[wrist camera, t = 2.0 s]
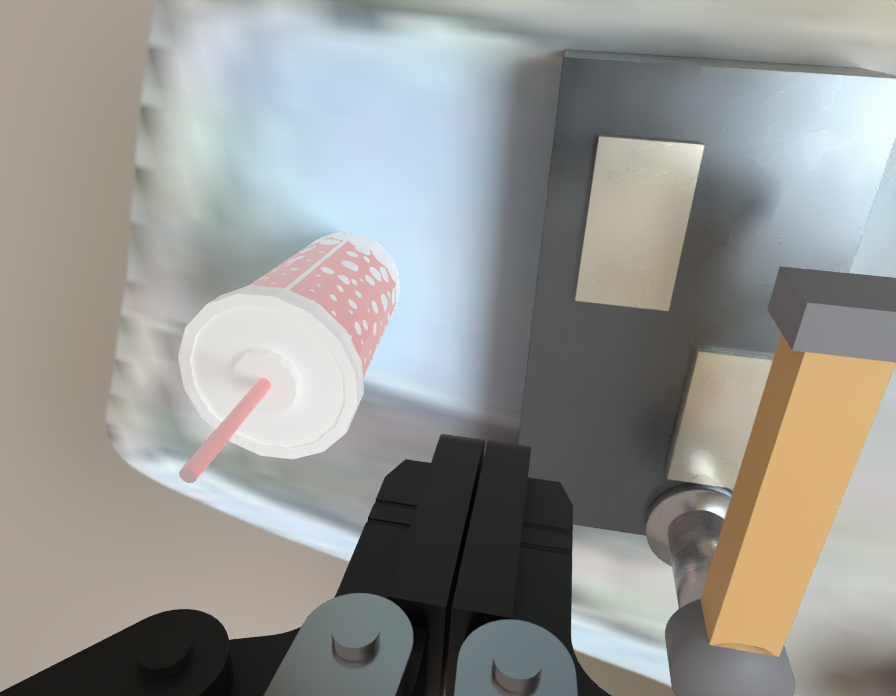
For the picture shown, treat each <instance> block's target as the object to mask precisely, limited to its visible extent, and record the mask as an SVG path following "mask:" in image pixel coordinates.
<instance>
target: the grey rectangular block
mask: <svg viewBox="0 0 896 696" xmlns="http://www.w3.org/2000/svg"><path fill="white" fill-rule="evenodd" d="M895 137H896V76H895V75H890V74H886V73H881V72H877V71H872V70H868V69H862V68H846V67H830V66H815V65H799V64H784V63H768V62H753V61H737V60H721V59H706V58H690V57H675V56H659V55H643V54H628V53H612V52H597V51H581V50H566V51H565V54H564V57H563V64H562V73H561V82H560V90H559V99H558V107H557V116H556V124H555V133H554V141H553V150H552V158H551V167H550V176H549V184H548V193H547V201H546V210H545V218H544V227H543V235H542V244H541V252H540V261H539V270H538V278H537V287H536V295H535V304H534V312H533V321H532V329H531V338H530V346H529V355H528V363H527V372H526V381H525V389H524V398H523V406H522V415H521V423H520V432H519V440H518V445H524V446H531V454H530V463H529V472H528V477H529V478H536V479H543V480H549V481H556V482H560V483H561V484H562V486H563V488H564V490H565V492H566V493H567V495H568V497H569V499H570V501H571V502H572V504H573V524H575V525H581V526H588V527H594V528H601V529H607V530H613V531H620V532H626V533H633V534H639V535H646V536H647V541H648V544H649V546H650V548H651V550H652V551H653V552H654V554H655V555H656V556H657V557H658V558H659V559H661V560H662V561H663V562H665V563H666V564H668V565H670V566H672V568H673V574H674V580H675V587H676V593H677V599H678V605H679V609H680V608H681V607H683V606H684V605H686V604H688V603H690V602H693V601H696V600H699V599H700V598H701V595H702V592H703V588H704V585H705V582H706V579H707V575H708V572H709V569H710V565H711V562H712V559H713V556H714V552H715V549H716V546H717V542H718V539H719V536H720V533H721V529H722V526H723V523H724V519H725V516H726V513H727V509H728V506H729V503H730V500H731V496H732V493H733V490H734V486H735V483H736V480H737V477H738V473H739V470H740V467H741V463H742V460H743V457H744V454H745V450H746V447H747V444H748V440H749V437H750V434H751V431H752V427H753V424H754V421H755V417H756V414H757V411H758V407H759V404H760V401H761V398H762V394H763V391H764V388H765V384H766V381H767V378H768V375H769V371H770V368H771V365H772V361H773V358H774V355H775V352H776V348H777V345H778V342H779V338H780V335H781V331H780V330H779V328H778V326H777V325H776V323H775V321H774V320H773V318H772V317H771V315H770V313H769V312H768V310H767V309H768V305H769V302H770V298H771V295H772V291H773V288H774V284H775V281H776V277H777V274H778V270H779V267H780V266H782V267H792V268H802V269H812V270H821V271H831V272H841V273H849V272H850V269H851V266H852V264H853V261H854V258H855V255H856V252H857V249H858V246H859V243H860V240H861V237H862V234H863V231H864V228H865V225H866V222H867V219H868V216H869V213H870V210H871V208H872V205H873V202H874V199H875V196H876V193H877V190H878V187H879V184H880V181H881V178H882V175H883V172H884V169H885V166H886V163H887V160H888V157H889V155H890V152H891V149H892V146H893V143H894V140H895Z"/></svg>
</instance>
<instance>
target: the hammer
mask: <svg viewBox="0 0 896 696" xmlns="http://www.w3.org/2000/svg"><path fill="white" fill-rule="evenodd" d="M767 310H768V312H769V313H770V315H771V317H772V318H773V320H774V321H775V323H776V325H777V326H778V328H779V330H780V331H781V335H780V338H779V342H778V345H777V348H776V352H775V355H774V358H773V361H772V365H771V368H770V371H769V375H768V378H767V381H766V384H765V388H764V391H763V394H762V398H761V401H760V404H759V407H758V411H757V414H756V417H755V421H754V424H753V427H752V431H751V434H750V437H749V440H748V444H747V447H746V450H745V454H744V457H743V460H742V463H741V467H740V470H739V473H738V477H737V480H736V483H735V486H734V490H733V493H732V496H731V500H730V503H729V506H728V509H727V513H726V516H725V519H724V523H723V526H722V529H721V533H720V536H719V539H718V542H717V546H716V549H715V552H714V556H713V559H712V562H711V565H710V569H709V572H708V575H707V579H706V582H705V585H704V588H703V592H702V595H701V598H700V599H699V600H696V601H693V602H690V603H688V604H686V605H684V606H683V607H681V608H680V609H679V610H677V611H676V612H675V613H674V614H673V615H672V617H671V618H670V619H669V621H668V623H667V626H666V630H665V640H666V647H667V655H668V662H669V670H670V677H671V684H672V689H673V691H674V694H675V695H676V696H793V694H794V691H795V678H794V675H793V672H792V669H791V666H790V663H789V659H788V656H787V653H786V650H785V647H784V643H785V641H786V638H787V636H788V633H789V631H790V628H791V626H792V623H793V621H794V618H795V616H796V613H797V611H798V608H799V606H800V603H801V601H802V598H803V596H804V593H805V591H806V588H807V586H808V583H809V581H810V578H811V576H812V573H813V570H814V568H815V565H816V563H817V560H818V558H819V555H820V553H821V550H822V548H823V545H824V543H825V540H826V538H827V535H828V533H829V530H830V528H831V525H832V523H833V520H834V518H835V515H836V513H837V510H838V508H839V505H840V503H841V500H842V498H843V495H844V493H845V490H846V488H847V485H848V483H849V480H850V478H851V475H852V473H853V470H854V468H855V465H856V463H857V460H858V458H859V455H860V453H861V450H862V448H863V445H864V443H865V440H866V438H867V435H868V433H869V430H870V428H871V425H872V423H873V420H874V418H875V415H876V412H877V410H878V407H879V405H880V402H881V400H882V397H883V395H884V392H885V390H886V387H887V385H888V382H889V380H890V377H891V375H892V372H893V370H894V367H895V365H896V278H890V277H881V276H871V275H861V274H851V273H841V272H831V271H821V270H812V269H802V268H792V267H782V266H780V267H779V270H778V274H777V277H776V281H775V284H774V288H773V291H772V295H771V298H770V302H769V305H768V309H767Z"/></svg>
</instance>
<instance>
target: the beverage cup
mask: <svg viewBox="0 0 896 696" xmlns="http://www.w3.org/2000/svg"><path fill="white" fill-rule="evenodd" d="M399 297H400V276H399V273H398V271H397V269H396V267H395V264H394V262H393V260H392V258H391V256H390V255H389V254H388V253H387V252H386V251H385V250H384V249H383V248H382V247H381V246H380V245H379V244H378V243H377V242H375V241H373V240H371V239H369V238H366V237H364V236H362V235H360V234H358V233H347V232H335V233H332V234H330V235H327V236H324V237H321V238H319V239H317V240H316V241H314V242H313V243H311V244H310V245H308V246H307V247H305V248H304V249H302V250H301V251H299V252H298V253H296V254H295V255H293V256H292V257H290V258H289V259H287V260H286V261H284V262H283V263H281V264H280V265H278V266H277V267H275V268H274V269H272V270H271V271H269V272H268V273H266V274H265V275H263V276H262V277H260V278H259V279H257V280H256V281H254V282H253V283H251V284H250V285H248V286H245V287H242V288H240V289H237V290H234V291H231V292H228V293H226V294H223V295H220V296H218V297H217V298H216V299H215V300H213V301H210V302H209V303H208V304H206V305H205V306H204V308H203V309H202V310H201V311H200V312H199V313H198V314H197V315H196V316H195V317H194V318H193V320H192V321H191V322H190V323H189V324H188V325H187V326H186V327H185V331H184V335H183V339H182V343H181V347H180V351H179V355H178V359H179V364H180V369H181V375H182V380H183V385H184V389H185V391H186V392H187V394H188V396H189V397H190V399H191V401H192V402H193V404H194V405H195V407H196V409H197V410H198V412H199V414H200V415H201V417H202V418H203V419H204V420H205V421H206V422H207V423H209V424H210V425H211V426H212V427H213V428H214V429H215V431H214V432H213V433H212V434H211V435H210V437H209V438H208V439H207V440H206V441H205V442H204V443H203V445H202V446H201V447H200V448H199V449H198V450H197V452H196V453H195V454H194V455H193V456H192V457H191V459H190V460H189V461H188V462H187V463H186V464H185V465H184V467H183V468H182V469H181V470H180V472H179V474H180V477H181V478H182V479H183V480H184V481H185V482H187V483H193V482H195V481H196V480H197V478H198V477H199V476H200V475H201V474H202V472H203V471H204V470H205V469H206V467H207V466H208V465H209V464H210V462H211V461H212V460H213V459H214V458H215V456H216V455H217V454H218V453H219V451H220V450H221V449H222V448H223V446H224V445H225V444H226V443H227V442H228V441H230V442H232V443H234V444H236V445H239V446H241V447H243V448H245V449H247V450H250V451H252V452H254V453H256V454H258V455H261V456H270V457H279V458H287V459H296V458H300V457H304V456H308V455H312V454H316V453H320V452H323V451H325V450H326V449H327V448H328V447H330V446H331V445H332V444H333V443H335V442H336V441H337V440H338V439H339V438H341V437H342V436H343V435H344V434H346V432H347V430H348V429H349V426H350V424H351V421H352V419H353V417H354V415H355V412H356V410H357V408H358V405H359V403H360V401H361V398H362V396H363V394H364V391H363V378H364V376H365V373H366V371H367V369H368V367H369V365H370V362H371V360H372V358H373V356H374V353H375V351H376V349H377V347H378V345H379V342H380V340H381V338H382V336H383V333H384V331H385V329H386V327H387V325H388V322H389V320H390V318H391V316H392V314H393V311H394V309H395V306H396V304H397V302H398V299H399Z"/></svg>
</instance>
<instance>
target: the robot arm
mask: <svg viewBox="0 0 896 696" xmlns="http://www.w3.org/2000/svg"><path fill="white" fill-rule="evenodd" d="M484 448H485V440H481V439H474V438H467V437H460V436H453V435H446V434H441V436H440V438H439V441H438V444H437V447H436V450H435V453H434V456H433V459H432V462H431V463H427V462H420V461H413V460H407V459H405V460H404V461H403V462H402V463H401V464H400V465H398V466H397V467H396V468H395V469H394V470H393V471H391V472H390V473H389V474H388V475H387V476H386V477H385V479H384V481H383V483H382V486H381V488H380V491H379V493H378V495H377V498H376V502H375V504H374V505H373V507H372V510H371V512H370V515H369V517H368V522H367V523H366V524H365V527H364V529H363V531H362V534H361V536H360V538H359V541H358V543H357V546H356V548H355V550H354V553H353V555H352V558H351V560H350V562H349V565H348V567H347V570H346V572H345V574H344V577H343V579H342V582H341V584H340V587H339V589H338V591H337V593H336V595H335V597H334V598H333V599H331V600H328V601H327V602H325V603H323V604H322V605H320V606H319V607H317V608H316V609H315V610H314V611H313V612H312V613H311V614H310V615H309V616H308V617H307V619H306V620H305V622H304V623H303V625H302V626H301V627H300V628H297V629H295V630H292V631H289V632H286V633H282V634H276V635H270V636H260V637H251V638H242V639H232V640H229V638H228V635H227V632H226V630H225V628H224V626H223V625H222V624H221V623H220V622H219V621H218V620H217V619H216V618H214V617H213V616H211V615H209V614H207V613H204V612H201V611H197V610H189V609H180V610H171V611H165V612H162V613H159V614H155V615H153V616H150V617H148V618H146V619H144V620H142V621H140V622H138V623H136V624H134V625H132V626H130V627H128V628H126V629H124V630H122V631H120V632H118V633H116V634H114V635H112V636H110V637H108V638H106V639H104V640H102V641H100V642H98V643H96V644H94V645H92V646H91V647H88V648H87V649H84V650H82V651H81V652H78V653H77V654H75V655H73V656H71V657H69V658H67V659H65V660H63V661H61V662H59V663H57V664H55V665H53V666H51V667H49V668H47V669H45V670H43V671H41V672H39V673H37V674H35V675H33V676H31V677H29V678H27V679H25V680H23V681H21V682H19V683H17V684H15V685H13V686H12V687H10V688H8V689H6V690H4V691H2V692H0V696H444V695H445V696H611V695H609V694H608V693H607V692H605V691H604V690H603V689H601V688H600V687H599V686H598V685H597V684H596V683H595V682H594V681H592V680H591V679H590V677H589V676H588V675H587V674H586V673H585V671H584V670H583V668H582V667H581V665H580V664H579V662H578V660H577V658H576V655H575V653H574V650H573V646H572V642H571V597H572V536H573V535H572V530H573V504H572V502H571V501H570V499H569V497H568V495H567V493H566V492H565V490H564V488H563V486H562V484H561V483H560V482H556V481H549V480H543V479H536V478H529V477H528V472H529V463H530V454H531V446H524V445H517V444H510V443H503V442H496V441H489V440H488V442H487V446H486V451H485V456H484ZM445 690H446V691H445Z"/></svg>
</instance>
